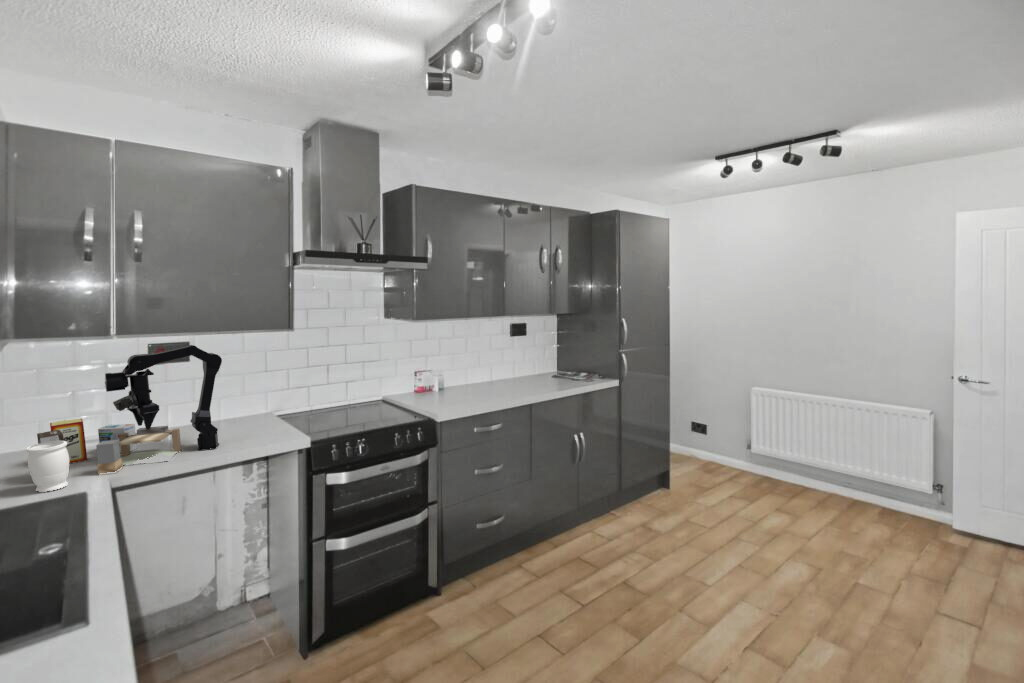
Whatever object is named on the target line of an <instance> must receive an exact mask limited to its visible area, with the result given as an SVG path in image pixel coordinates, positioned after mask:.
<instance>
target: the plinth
mask: <svg viewBox="0 0 1024 683" xmlns="http://www.w3.org/2000/svg"><path fill="white" fill-rule="evenodd" d="M96 466H97V467H96V468H97V475H98V474H100V473H107V472H115V471H117V470H118V469H120V468H121V467H122V468H123V466H122V457H120V459H119V460H117V461H116V462H114V463H104V464H98V463H97V464H96Z"/></svg>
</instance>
